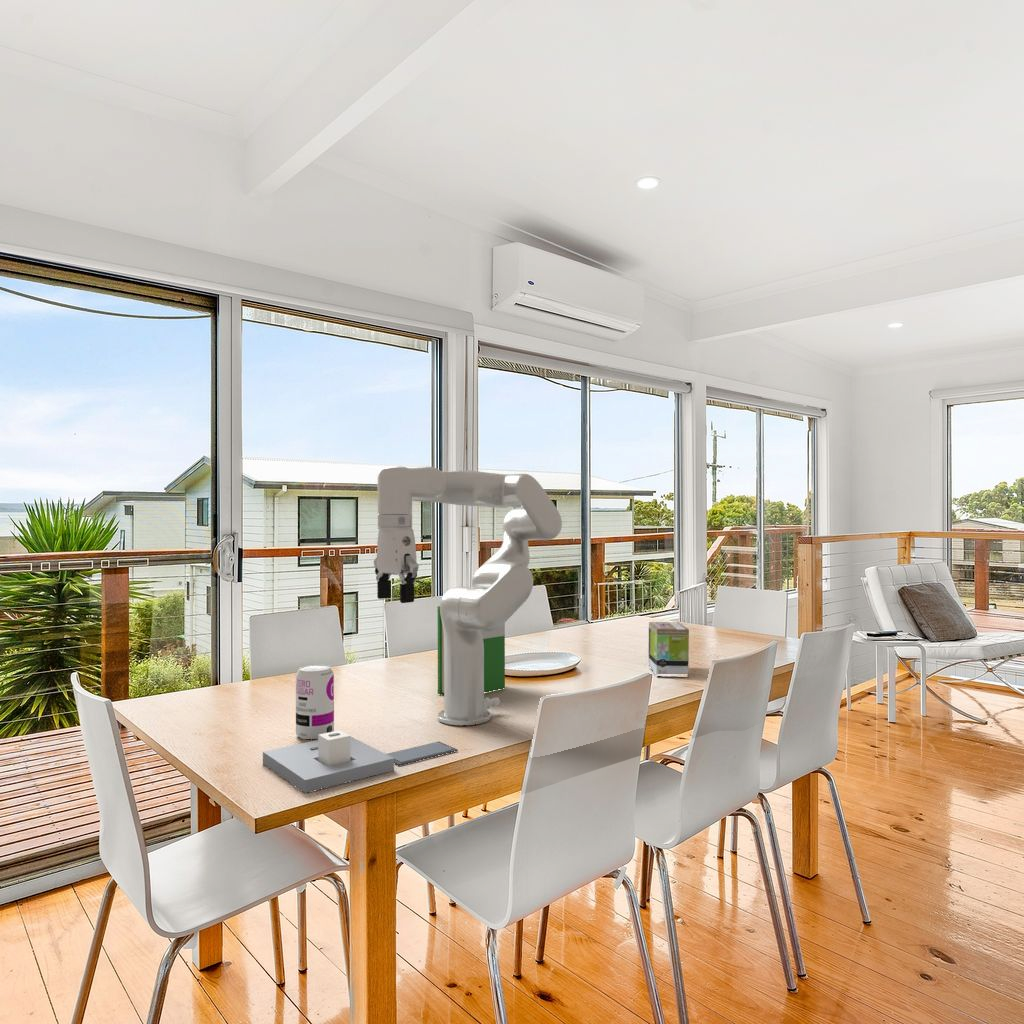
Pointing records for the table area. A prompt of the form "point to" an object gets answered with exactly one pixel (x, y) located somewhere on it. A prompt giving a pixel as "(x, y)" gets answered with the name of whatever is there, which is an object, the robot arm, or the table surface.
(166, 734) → the table surface
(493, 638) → the hardback book
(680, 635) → the tea box
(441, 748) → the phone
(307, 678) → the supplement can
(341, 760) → the charger block
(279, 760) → the grey peg hole board
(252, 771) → the table surface
